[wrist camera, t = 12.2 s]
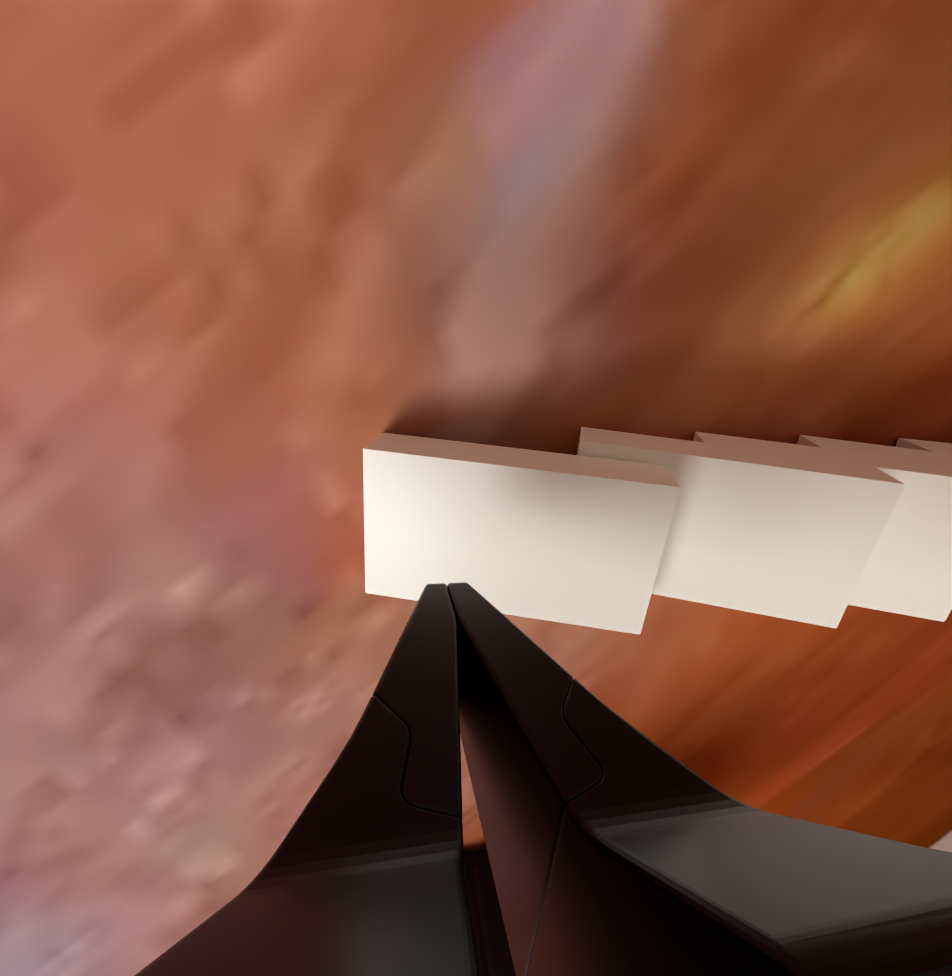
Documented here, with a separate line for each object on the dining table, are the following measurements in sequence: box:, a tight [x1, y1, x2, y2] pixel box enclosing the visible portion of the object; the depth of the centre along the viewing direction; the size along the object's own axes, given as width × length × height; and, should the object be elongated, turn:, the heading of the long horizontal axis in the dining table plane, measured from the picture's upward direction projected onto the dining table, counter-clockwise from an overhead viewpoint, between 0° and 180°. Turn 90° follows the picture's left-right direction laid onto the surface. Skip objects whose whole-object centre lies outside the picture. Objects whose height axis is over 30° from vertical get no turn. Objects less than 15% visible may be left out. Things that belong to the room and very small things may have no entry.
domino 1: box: [363, 433, 681, 634], centre depth 13 cm, size 4×2×8 cm
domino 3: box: [693, 431, 952, 622], centre depth 15 cm, size 4×2×8 cm
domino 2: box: [576, 427, 905, 628], centre depth 14 cm, size 4×2×8 cm
